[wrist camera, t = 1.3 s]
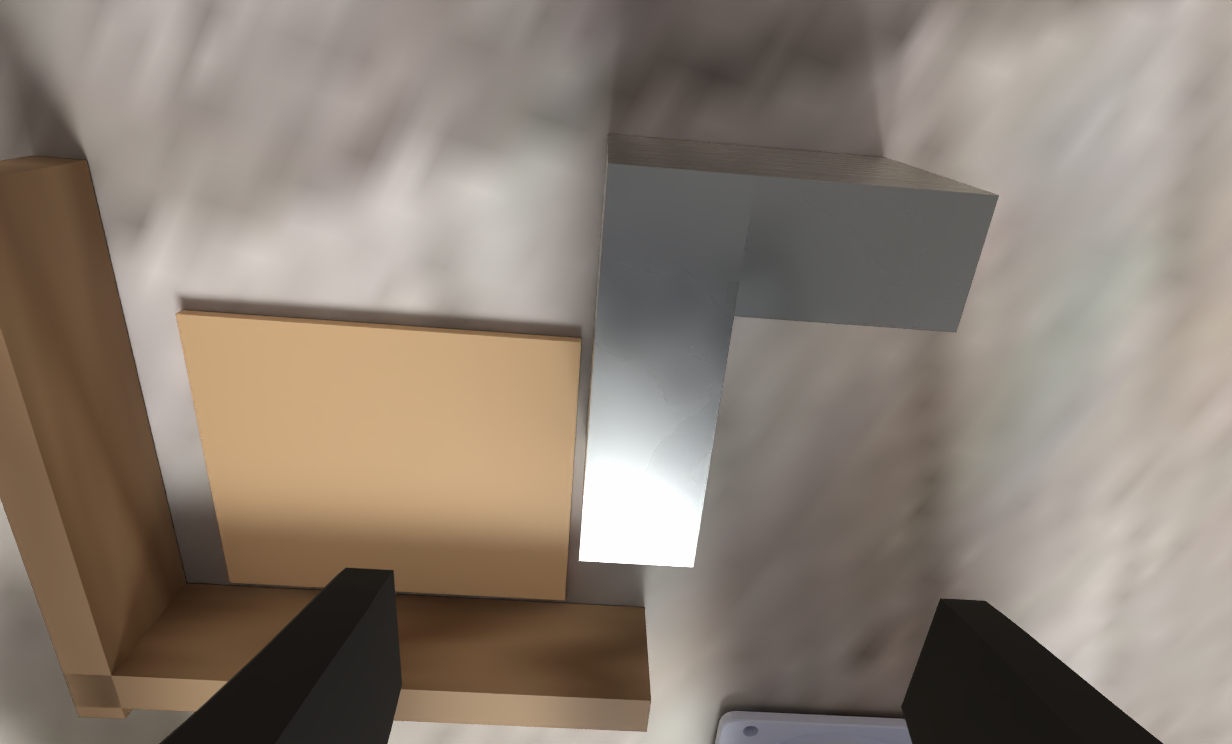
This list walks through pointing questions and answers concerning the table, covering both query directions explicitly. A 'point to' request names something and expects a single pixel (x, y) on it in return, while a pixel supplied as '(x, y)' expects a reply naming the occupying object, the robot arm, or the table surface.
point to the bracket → (740, 302)
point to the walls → (145, 539)
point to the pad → (387, 451)
